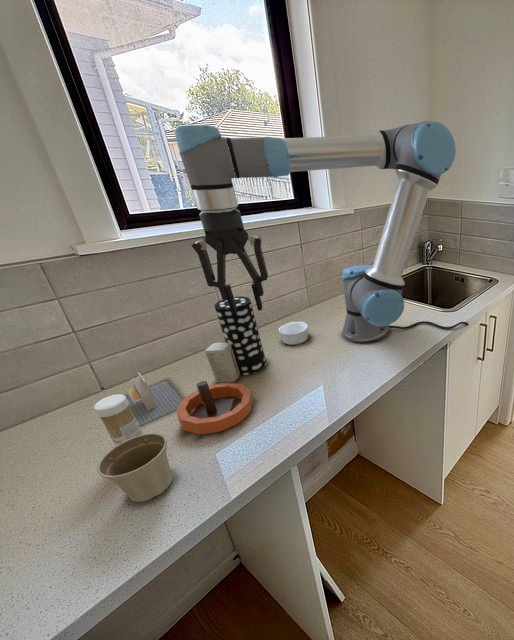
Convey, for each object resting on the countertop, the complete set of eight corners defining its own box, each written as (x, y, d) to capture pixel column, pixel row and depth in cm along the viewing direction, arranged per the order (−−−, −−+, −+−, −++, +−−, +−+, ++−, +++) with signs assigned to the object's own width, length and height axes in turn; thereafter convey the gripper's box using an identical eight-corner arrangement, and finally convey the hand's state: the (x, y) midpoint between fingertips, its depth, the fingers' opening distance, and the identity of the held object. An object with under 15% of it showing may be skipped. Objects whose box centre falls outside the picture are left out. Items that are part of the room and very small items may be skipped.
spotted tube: (262, 373, 93) (244, 307, 84) (230, 376, 91) (208, 310, 82) (269, 357, 100) (254, 295, 91) (239, 360, 99) (221, 297, 90)
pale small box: (242, 372, 93) (233, 341, 88) (234, 382, 89) (224, 350, 84) (223, 373, 93) (213, 341, 88) (215, 382, 89) (203, 350, 84)
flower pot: (109, 520, 55) (85, 485, 52) (128, 475, 63) (109, 442, 59) (176, 499, 59) (159, 465, 55) (186, 459, 66) (172, 426, 63)
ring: (255, 389, 86) (254, 380, 85) (246, 428, 74) (244, 417, 73) (191, 396, 82) (189, 386, 81) (170, 438, 70) (167, 427, 68)
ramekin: (309, 331, 115) (307, 319, 113) (310, 343, 107) (307, 331, 105) (281, 335, 112) (279, 323, 110) (280, 348, 105) (277, 335, 103)
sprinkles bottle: (117, 458, 67) (87, 405, 61) (142, 441, 71) (115, 390, 65) (131, 465, 65) (102, 412, 59) (156, 448, 69) (130, 396, 63)
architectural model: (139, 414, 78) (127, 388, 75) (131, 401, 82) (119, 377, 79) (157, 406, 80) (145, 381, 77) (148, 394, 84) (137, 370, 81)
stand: (235, 400, 82) (225, 370, 78) (228, 422, 76) (217, 391, 72) (198, 407, 80) (186, 376, 76) (188, 430, 73) (174, 398, 69)
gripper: (266, 205, 76) (287, 299, 86) (175, 210, 71) (209, 309, 81) (263, 209, 69) (286, 310, 80) (162, 215, 64) (201, 322, 75)
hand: (247, 309), depth 81 cm, fingers open, 5 cm apart
